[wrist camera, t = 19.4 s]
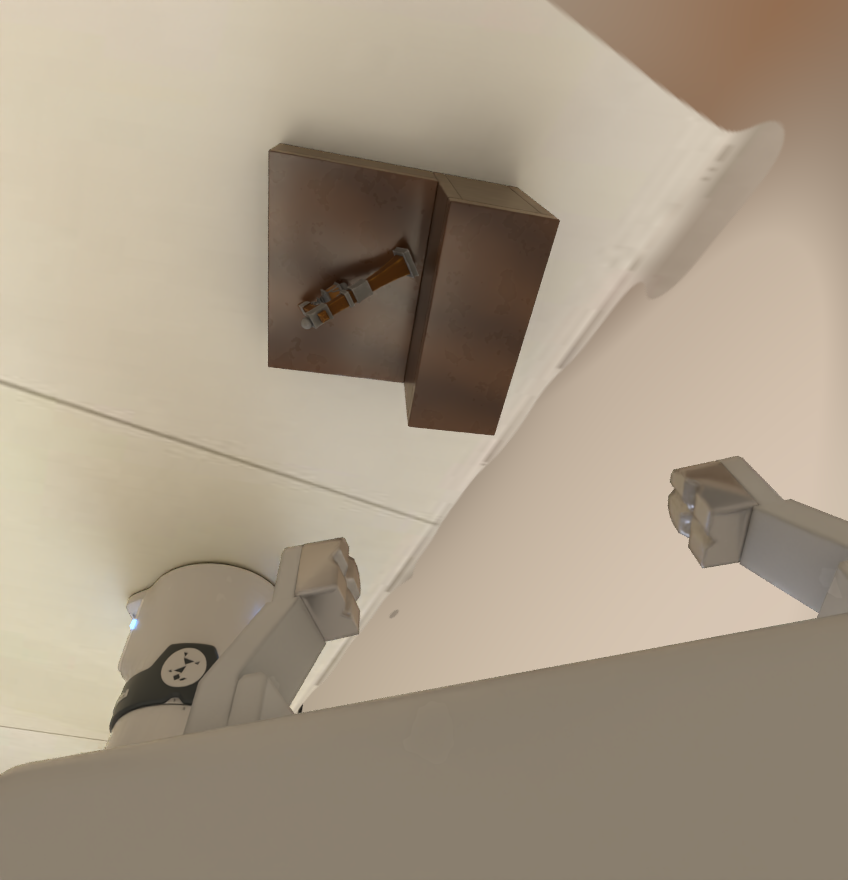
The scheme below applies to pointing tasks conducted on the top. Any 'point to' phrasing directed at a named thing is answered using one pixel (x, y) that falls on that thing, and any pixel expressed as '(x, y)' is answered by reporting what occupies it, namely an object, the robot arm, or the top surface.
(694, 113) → the top surface
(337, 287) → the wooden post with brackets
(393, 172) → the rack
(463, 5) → the top surface
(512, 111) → the top surface
